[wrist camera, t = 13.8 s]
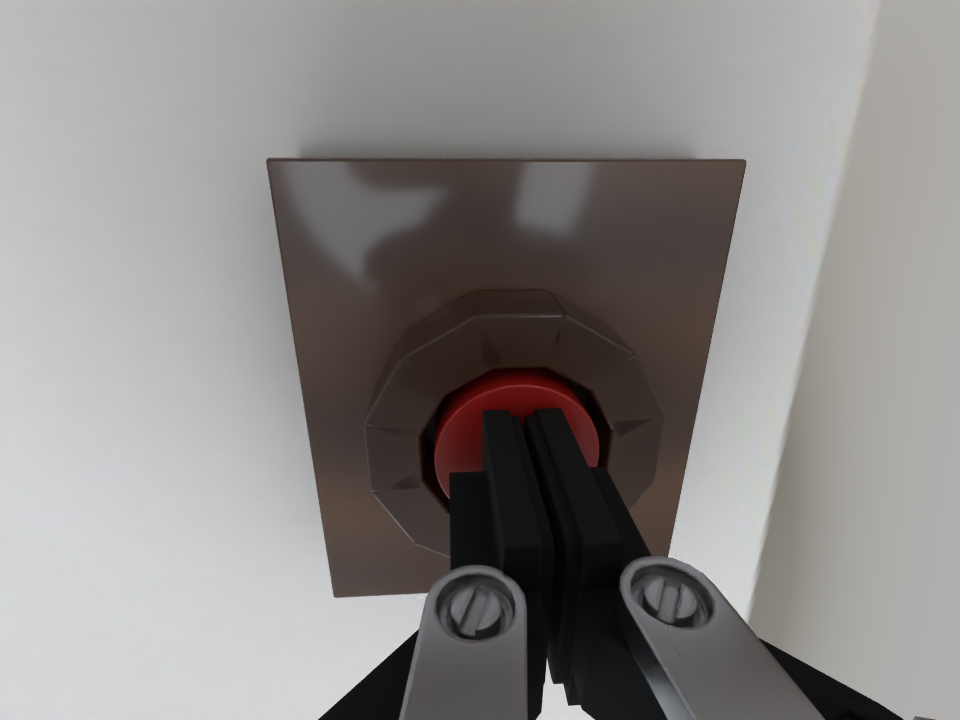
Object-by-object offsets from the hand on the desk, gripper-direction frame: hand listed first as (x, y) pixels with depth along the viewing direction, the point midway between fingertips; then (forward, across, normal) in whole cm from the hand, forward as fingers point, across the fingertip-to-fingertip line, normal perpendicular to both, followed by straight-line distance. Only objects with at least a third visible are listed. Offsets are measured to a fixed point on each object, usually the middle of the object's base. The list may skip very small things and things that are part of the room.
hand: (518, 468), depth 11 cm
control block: (+4, 0, 0) cm, 4 cm away
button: (+2, 0, 0) cm, 2 cm away
